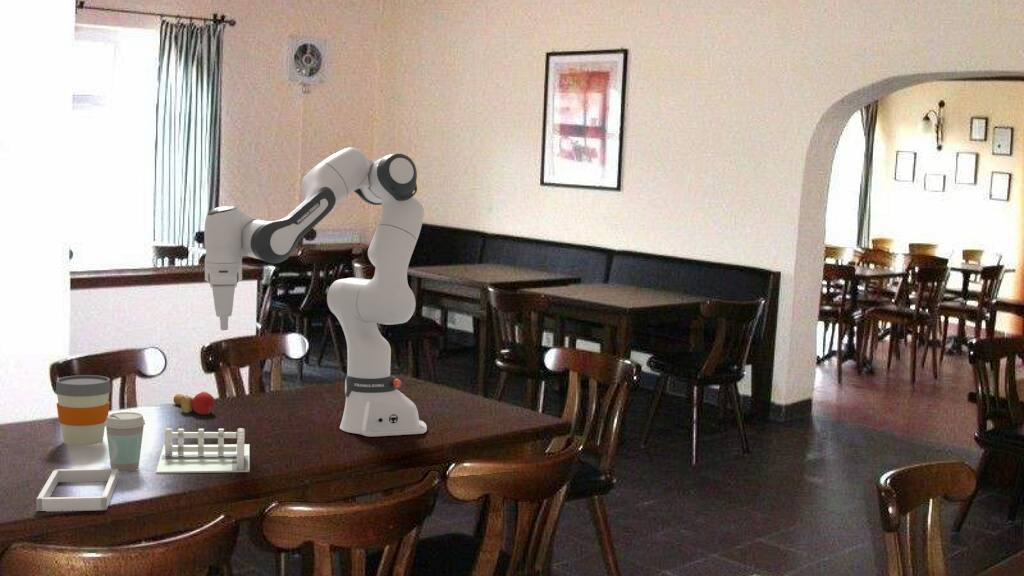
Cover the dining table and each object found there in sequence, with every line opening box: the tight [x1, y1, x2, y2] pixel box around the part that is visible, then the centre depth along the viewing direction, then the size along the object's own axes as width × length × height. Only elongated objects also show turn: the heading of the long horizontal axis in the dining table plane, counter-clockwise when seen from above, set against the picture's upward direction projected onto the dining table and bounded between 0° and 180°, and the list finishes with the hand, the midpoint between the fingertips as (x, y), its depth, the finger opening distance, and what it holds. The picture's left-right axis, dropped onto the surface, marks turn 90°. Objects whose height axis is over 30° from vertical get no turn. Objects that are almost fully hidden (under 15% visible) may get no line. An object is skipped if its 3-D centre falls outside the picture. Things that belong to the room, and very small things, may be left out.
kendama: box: [173, 390, 216, 416], centre depth 331 cm, size 8×6×18 cm
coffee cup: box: [105, 411, 146, 473], centre depth 269 cm, size 8×8×12 cm
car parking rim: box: [35, 468, 119, 512], centre depth 249 cm, size 13×22×2 cm, turn 12°
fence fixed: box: [236, 429, 246, 470], centre depth 276 cm, size 11×2×6 cm, turn 12°
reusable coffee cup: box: [55, 374, 112, 447], centre depth 292 cm, size 13×13×15 cm
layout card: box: [155, 443, 250, 475], centre depth 281 cm, size 20×24×1 cm
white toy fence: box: [164, 427, 246, 456], centre depth 281 cm, size 18×2×6 cm, turn 99°
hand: (224, 329), depth 298 cm, fingers closed
